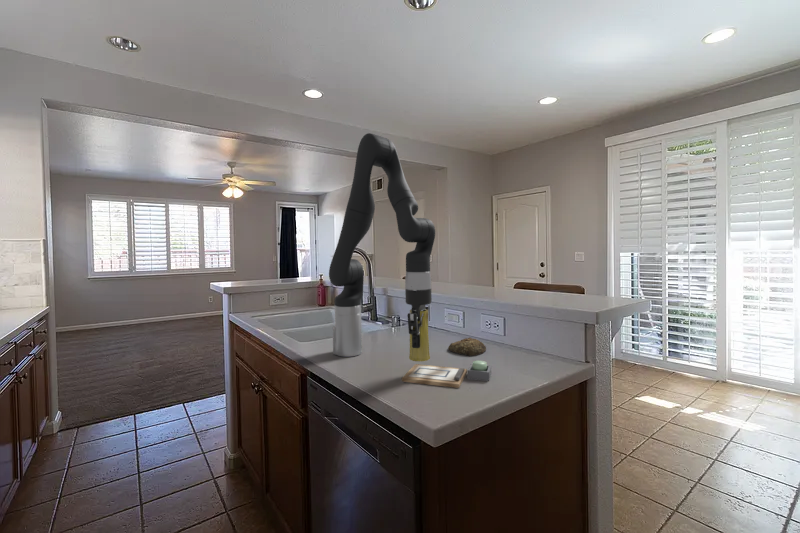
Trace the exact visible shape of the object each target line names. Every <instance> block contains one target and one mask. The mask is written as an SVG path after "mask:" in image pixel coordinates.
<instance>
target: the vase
mask: <svg viewBox="0 0 800 533" xmlns="http://www.w3.org/2000/svg"><path fill="white" fill-rule="evenodd" d="M424 310H426V311H420V318H421V315H422V313H423V312H424V317H423V319H422V320H423V326H422V327H421V330H420V348H413V347H412V335H411V334H409V353H408V355H409V356H408V359H409V360H410V361H412V362H427V361H429V360H431V355H430V342H429V341H430V340H429V315H428V310H427V309H424ZM410 312H411V309H410V310H409V313H410ZM419 323H420V321H418V324H419ZM414 330H415V327H414Z"/></svg>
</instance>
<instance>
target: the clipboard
mask: <svg viewBox="0 0 800 533" xmlns="http://www.w3.org/2000/svg"><path fill="white" fill-rule="evenodd" d="M467 370H468V369H467V368H461V367H450V366H440V365H439V366H438V365H430V364H429V365H428V364H419V363H418V364H417V363H415V364H414V365H413V366H412V367H411V368H410V369H409V370H408V371H407V372H406V373H405V374H404V375H403V376H402V377H401V382H405V383H414V384H421V385H428V386H429V385H430V386H437V387H446V388H455V389H456V388H457V389H460V387H461V386H462V383H463V381H464V379H465V377H466V376H467Z"/></svg>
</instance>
